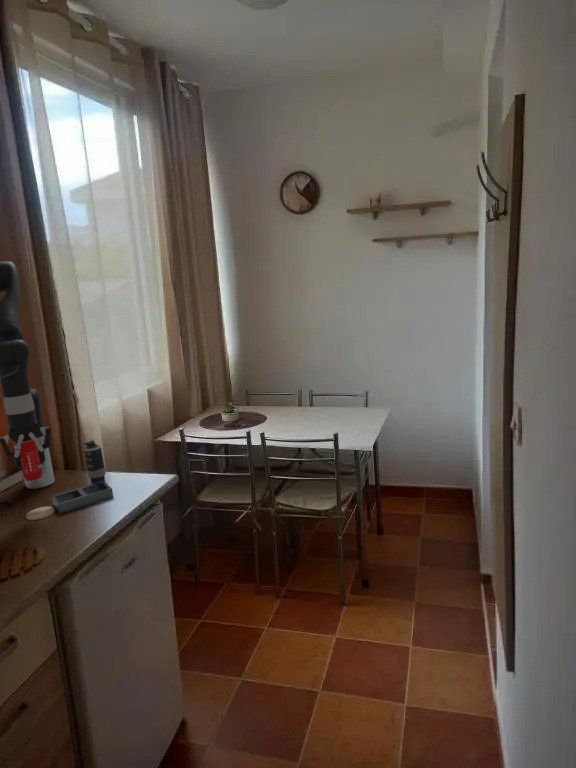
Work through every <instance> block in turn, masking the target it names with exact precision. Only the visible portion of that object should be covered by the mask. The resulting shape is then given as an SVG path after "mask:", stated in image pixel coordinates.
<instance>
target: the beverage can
mask: <svg viewBox="0 0 576 768" xmlns="http://www.w3.org/2000/svg"><path fill="white" fill-rule="evenodd" d="M19 443H20V442H19ZM19 446H20V447H21V450H20V453H19V456H20V458H21V463H22V469H21V472H22V477H23V479H24V478H25V480H26V481H34V480H38V479H40V478H41V477H42V473H43V472H42V467H41V461H40V456H39V451H38V448H37V446H36V444H35V441H33V440H29V441H22V442H21V445H19ZM25 480H24V481H25Z"/></svg>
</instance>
